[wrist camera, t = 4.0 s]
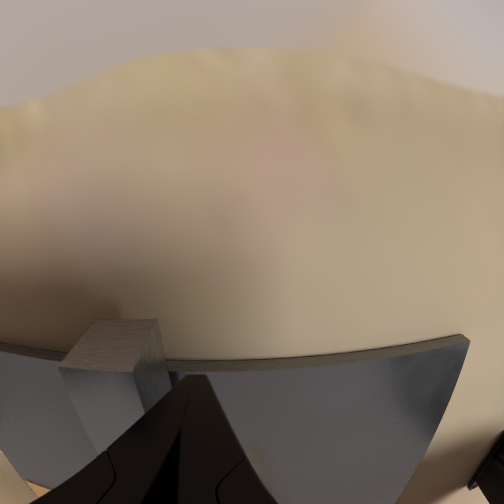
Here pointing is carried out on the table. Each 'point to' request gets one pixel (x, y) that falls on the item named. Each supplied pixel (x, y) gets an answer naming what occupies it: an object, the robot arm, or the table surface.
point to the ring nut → (115, 376)
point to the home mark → (38, 488)
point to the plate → (265, 417)
